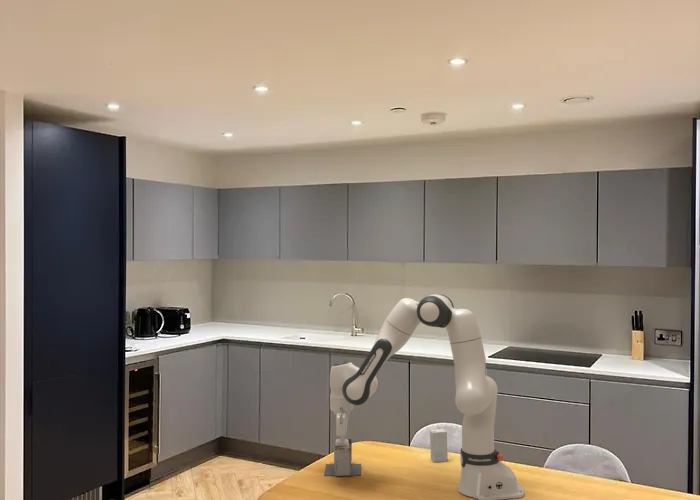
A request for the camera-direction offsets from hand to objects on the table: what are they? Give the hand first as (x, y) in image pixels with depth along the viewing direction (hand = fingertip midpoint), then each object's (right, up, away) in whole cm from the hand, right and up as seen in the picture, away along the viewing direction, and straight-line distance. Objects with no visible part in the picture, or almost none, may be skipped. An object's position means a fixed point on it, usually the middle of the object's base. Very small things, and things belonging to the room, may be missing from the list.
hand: (342, 441), depth 237 cm
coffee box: (0, -8, -2) cm, 8 cm away
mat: (0, -13, +5) cm, 14 cm away
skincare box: (+38, -12, +14) cm, 43 cm away
